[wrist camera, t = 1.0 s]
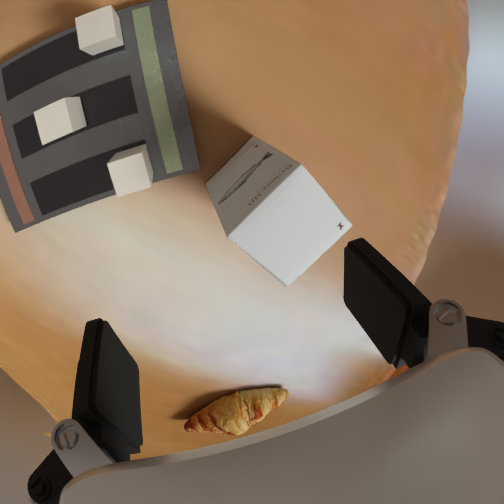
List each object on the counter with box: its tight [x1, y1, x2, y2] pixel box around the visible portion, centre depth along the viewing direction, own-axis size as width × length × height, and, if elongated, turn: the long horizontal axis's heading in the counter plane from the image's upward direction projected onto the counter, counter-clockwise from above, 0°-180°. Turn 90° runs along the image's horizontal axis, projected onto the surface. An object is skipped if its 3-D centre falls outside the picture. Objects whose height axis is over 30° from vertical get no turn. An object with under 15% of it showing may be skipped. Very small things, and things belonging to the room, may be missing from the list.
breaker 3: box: [107, 144, 154, 197], centre depth 24 cm, size 3×3×4 cm
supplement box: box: [205, 136, 352, 287], centre depth 27 cm, size 7×7×13 cm
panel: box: [0, 0, 201, 233], centre depth 23 cm, size 18×22×2 cm
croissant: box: [184, 388, 290, 436], centre depth 50 cm, size 21×10×8 cm, turn 105°
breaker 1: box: [34, 97, 87, 145], centre depth 20 cm, size 3×3×4 cm
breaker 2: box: [75, 5, 124, 56], centre depth 17 cm, size 3×3×4 cm
